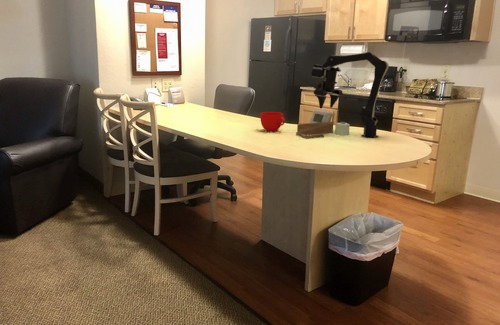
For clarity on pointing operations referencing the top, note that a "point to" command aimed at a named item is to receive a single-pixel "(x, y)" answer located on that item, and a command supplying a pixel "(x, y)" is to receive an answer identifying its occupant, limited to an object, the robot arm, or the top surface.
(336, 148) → the top surface
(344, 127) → the cabinet block
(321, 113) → the digital clock
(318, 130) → the wall board
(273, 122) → the ceramic cup
